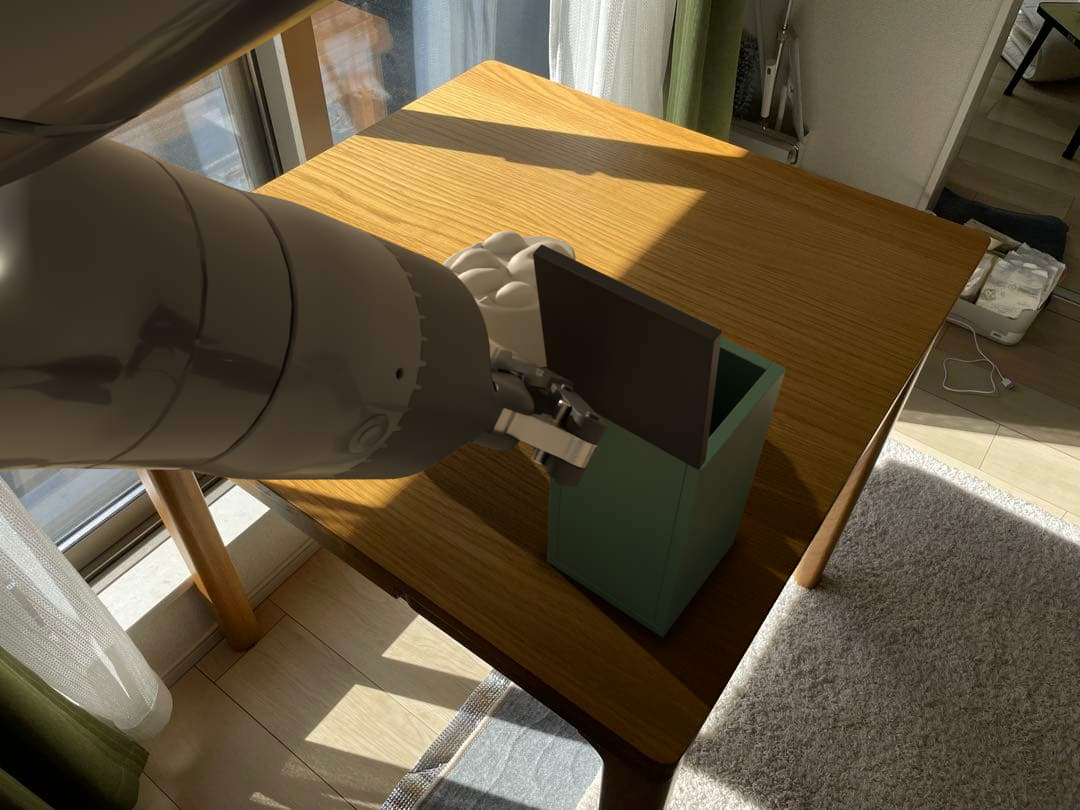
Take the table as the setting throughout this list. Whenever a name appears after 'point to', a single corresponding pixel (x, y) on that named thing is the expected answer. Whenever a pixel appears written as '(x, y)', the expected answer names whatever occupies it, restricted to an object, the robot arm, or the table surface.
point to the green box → (665, 501)
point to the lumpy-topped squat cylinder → (507, 288)
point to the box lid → (629, 354)
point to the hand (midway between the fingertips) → (552, 397)
